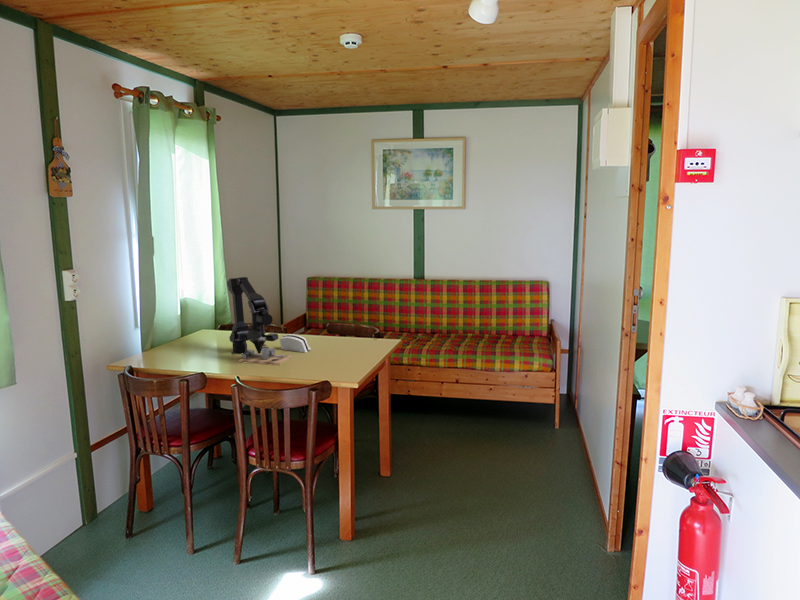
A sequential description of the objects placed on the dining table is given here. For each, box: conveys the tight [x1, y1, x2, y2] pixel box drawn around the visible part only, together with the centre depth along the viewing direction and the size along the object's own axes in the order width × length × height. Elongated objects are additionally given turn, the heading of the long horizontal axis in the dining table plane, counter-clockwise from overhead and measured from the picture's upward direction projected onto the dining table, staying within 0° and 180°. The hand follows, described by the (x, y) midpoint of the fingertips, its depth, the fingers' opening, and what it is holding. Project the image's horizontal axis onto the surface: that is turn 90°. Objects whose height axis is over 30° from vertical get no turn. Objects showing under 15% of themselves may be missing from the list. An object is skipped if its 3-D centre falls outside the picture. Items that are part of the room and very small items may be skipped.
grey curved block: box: [279, 333, 312, 353], centre depth 302 cm, size 17×5×10 cm, turn 63°
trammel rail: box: [241, 349, 286, 359], centre depth 282 cm, size 20×8×3 cm, turn 78°
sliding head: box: [261, 343, 276, 360], centre depth 281 cm, size 4×8×7 cm, turn 168°
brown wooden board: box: [237, 354, 292, 366], centre depth 282 cm, size 22×14×1 cm, turn 78°
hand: (259, 353), depth 280 cm, fingers closed
